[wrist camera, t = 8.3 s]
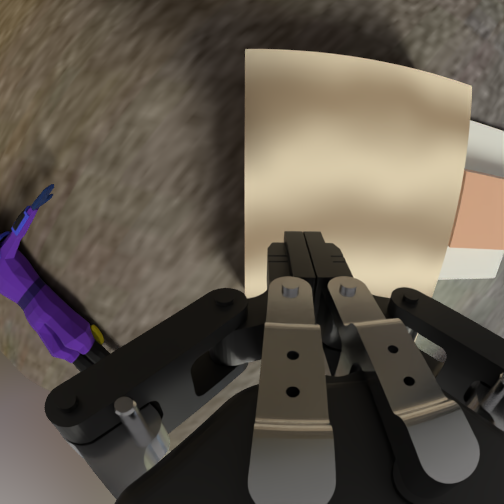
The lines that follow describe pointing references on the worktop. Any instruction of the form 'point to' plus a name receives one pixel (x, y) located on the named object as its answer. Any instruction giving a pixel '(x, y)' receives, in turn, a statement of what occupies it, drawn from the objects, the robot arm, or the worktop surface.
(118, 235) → the worktop surface
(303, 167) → the block
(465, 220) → the tile
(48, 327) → the toy
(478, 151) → the mat
